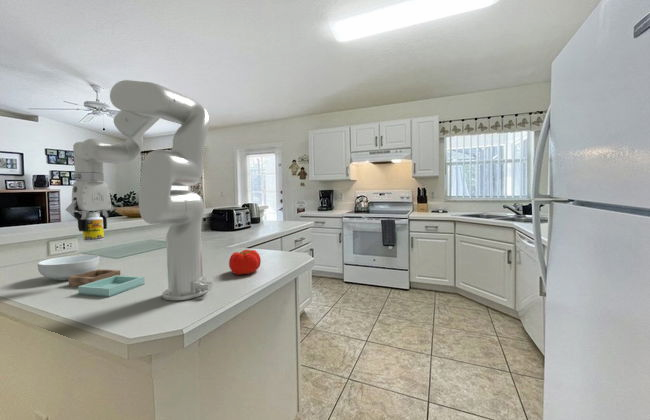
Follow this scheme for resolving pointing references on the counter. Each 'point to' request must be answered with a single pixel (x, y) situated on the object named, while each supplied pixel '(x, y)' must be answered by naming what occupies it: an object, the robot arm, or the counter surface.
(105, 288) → the tray
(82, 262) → the cereal bowl
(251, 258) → the tomato
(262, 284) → the counter surface
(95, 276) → the socket block
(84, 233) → the supplement bottle
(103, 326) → the counter surface
